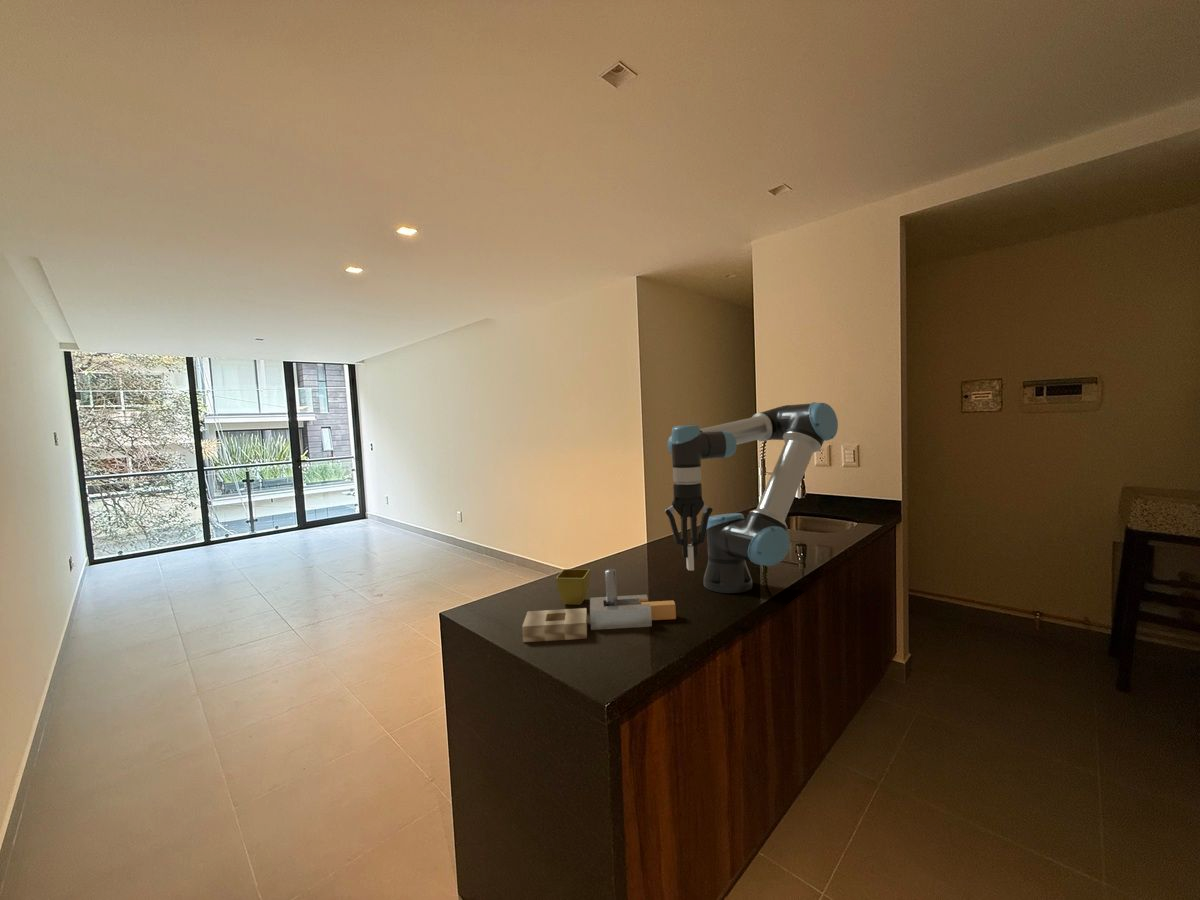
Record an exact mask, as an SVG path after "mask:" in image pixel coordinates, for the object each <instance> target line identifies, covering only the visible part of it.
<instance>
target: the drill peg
mask: <svg viewBox="0 0 1200 900" xmlns="http://www.w3.org/2000/svg"><path fill="white" fill-rule="evenodd" d="M604 580H605V583H604V584H605V597H606V603H607V606H618V602H617V596H618V589H617V588H618V587H617V585H618V584H617V569H615V568H607V569H605V570H604Z"/></svg>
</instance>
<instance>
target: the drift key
mask: <svg viewBox="0 0 1200 900" xmlns="http://www.w3.org/2000/svg"><path fill="white" fill-rule="evenodd" d="M641 604H650V606H651V620H652V621H661V620H663V621H664V620H677V612H676V608H677V607H676V603H675V601H674V600H662V601H661V600H656V601H648V602H641Z"/></svg>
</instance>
